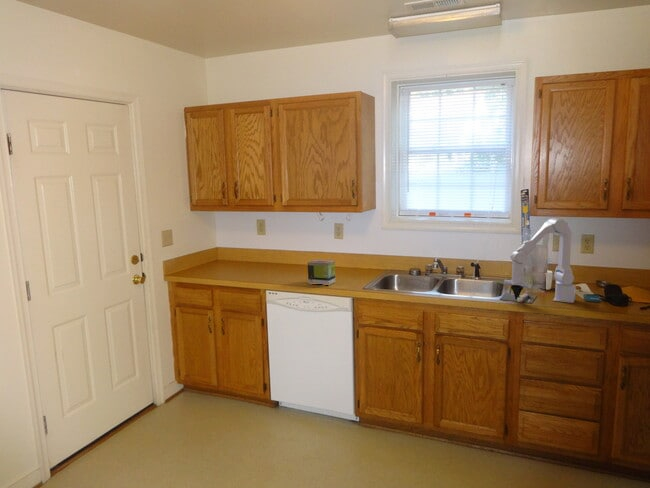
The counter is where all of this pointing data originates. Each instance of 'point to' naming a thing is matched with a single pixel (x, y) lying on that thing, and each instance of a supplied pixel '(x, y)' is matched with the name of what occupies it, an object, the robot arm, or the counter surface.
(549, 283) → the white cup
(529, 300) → the lock plate
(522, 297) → the lever
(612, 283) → the counter surface
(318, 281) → the tea box
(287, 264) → the counter surface
